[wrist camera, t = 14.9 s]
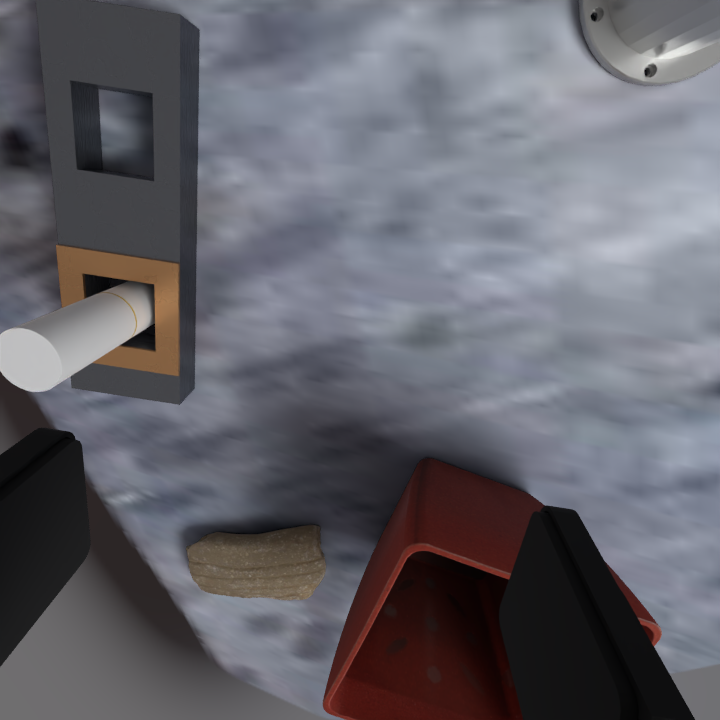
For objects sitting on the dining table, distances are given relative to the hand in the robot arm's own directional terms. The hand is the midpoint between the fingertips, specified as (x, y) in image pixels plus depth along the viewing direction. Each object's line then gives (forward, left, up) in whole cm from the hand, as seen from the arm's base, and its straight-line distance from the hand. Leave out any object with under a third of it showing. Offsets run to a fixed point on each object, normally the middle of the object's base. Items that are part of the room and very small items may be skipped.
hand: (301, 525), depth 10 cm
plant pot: (+26, +13, -34) cm, 44 cm away
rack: (0, -20, -33) cm, 39 cm away
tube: (+7, -20, -34) cm, 40 cm away
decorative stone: (+35, -7, -34) cm, 49 cm away
